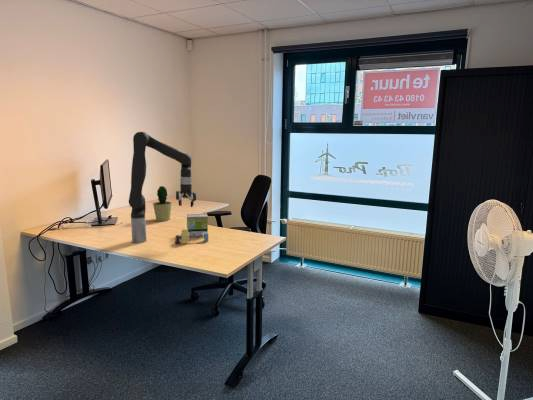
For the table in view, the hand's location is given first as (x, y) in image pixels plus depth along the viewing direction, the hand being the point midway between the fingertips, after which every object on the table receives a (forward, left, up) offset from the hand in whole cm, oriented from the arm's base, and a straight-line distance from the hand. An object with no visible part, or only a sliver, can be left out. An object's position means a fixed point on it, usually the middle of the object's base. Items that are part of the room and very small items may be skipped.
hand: (186, 206), depth 259 cm
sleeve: (-2, -6, -23) cm, 24 cm away
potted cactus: (-13, +67, -24) cm, 72 cm away
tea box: (+9, +13, -25) cm, 29 cm away
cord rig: (+3, -6, -24) cm, 25 cm away
